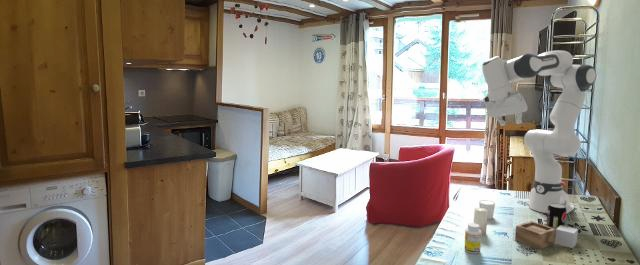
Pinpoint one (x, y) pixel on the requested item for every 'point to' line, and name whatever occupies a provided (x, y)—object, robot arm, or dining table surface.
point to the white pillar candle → (481, 219)
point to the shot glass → (488, 207)
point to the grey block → (566, 236)
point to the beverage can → (556, 215)
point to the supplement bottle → (473, 238)
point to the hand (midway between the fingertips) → (511, 124)
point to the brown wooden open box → (535, 234)
